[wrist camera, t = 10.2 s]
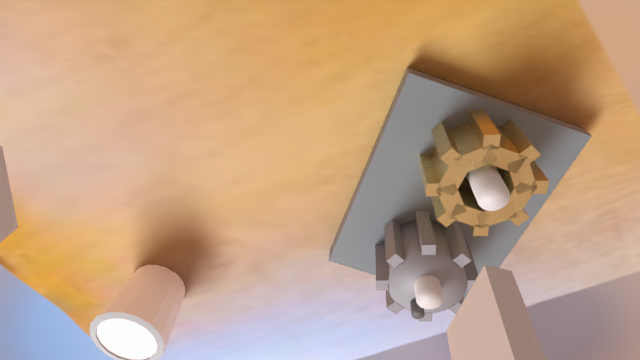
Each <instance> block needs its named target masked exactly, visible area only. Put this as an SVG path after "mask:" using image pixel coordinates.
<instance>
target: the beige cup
mask: <svg viewBox="0 0 640 360" xmlns="http://www.w3.org/2000/svg"><path fill="white" fill-rule="evenodd" d="M185 291H186V289H185V286H184V282H183V281H182V279H181V278H180V277H179V276H178V275H177V274H176V273H175V272H173V271H171V270H170V269H168V268H166V267H163V266H159V265H145V266H142V267H140V268H138V269H137V270H136V271H135V272H134V274H133V275H132V276H131V277H130V278H129V279H128V281H127V282H126V283H125V284H124V285H123V286H122V288H121V289H120V290H119V291H118V292H117V293H116V295H115V296H114V297H113V298H112V299H111V300H110V301H109V303H108V304H107V305H106V306H105V307H104V308H103V310H102V311H101V312H100V313H99V314H98V315H97V317H96V318H95V319H94V320H93V321H92V322H91V324H90V336H91V338H92V340H93V342H94V344H95V345H96V346H97V347H98V348H99V349H100V350H101V351H102V352H104V353H105V354H106V355H108V356H110V357H112V358H114V359H115V360H158V359H159V358H160V357H161V356H162V355H163V353H164V350H165V348H166V345H167V342H168V339H169V337H170V334H171V331H172V329H173V326H174V323H175V320H176V318H177V315H178V312H179V310H180V307H181V304H182V301H183V299H184V295H185Z"/></svg>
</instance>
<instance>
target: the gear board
mask: <svg viewBox="0 0 640 360" xmlns="http://www.w3.org/2000/svg"><path fill="white" fill-rule="evenodd" d="M480 109H484V110H485V112H486V113H487V115H488V116H489V118H490V119H491V121H492V122H493V124H494V125H497V126H500V127H501V126H502V125H503V124H504V123H506V122H507V121H508V120H509V119H511V120H512V121H513V122H514V123H515V124H516V125H517V126H519V128H520V129H521V130H522V131H523V133H524V134H525V135H526V136H527V138H528V139H529V140H530V141H531V143H532V144H533V145H534V146H535V148H536V149H537V150H538V151H539V153H540V154H541V155H540V156H539V157H538V158H536V159H535V160H534V161H535V162H536V164H537V165H538V166H539V168H540V169H541V170H542V172H543V173H544V174H545V176H546V177H547V178H548V180H549V184H548V189H547V194H533V195H532V196H531V198H530V199H529V201H528V202H527V204H526V205H525V206H524V209H525V211H526V212H527V214H528V216H529V219H527V220H526V221H525V222H523V223H522V224H520V225H519V226H516V225H515V224H514V223H513V222H512V221H511V220H510V219H509V220H506V221H503V222H500V223H497V224H494V225H491V226H489V231H488V236H473V234H472V231H471V229H470V226H469V224H466V223H463V222H460V221H457V220H455V221H454V222H453V223H451V224H450V225H449V226H448V227H445V226H444V225H443V224H442V223H440V222H439V221H438V220H437V219H436V215H435V211H434V207H433V203H432V199H431V196H426V194H425V190H424V185H423V181H422V177H421V172H420V168H419V154H431V153H432V151H433V149H434V147H435V145H436V144H435V141H434V138H433V135H432V132H431V130H433V129H434V128H435V127H436V126H437V125H438V124H439V123H440V122H442V123H444V124H445V125H446V126H447V127H448V128H449V129H450V128H453V127H455V126H458V125H460V124H463V123H465V122H468V119H469V110H480ZM590 138H591V135H590V134H589V133H587V132H586V131H585V130H584V129H583V128H581V127H578V126H575V125H572V124H569V123H566V122H563V121H561V120H558V119H555V118H552V117H549V116H546V115H543V114H540V113H537V112H535V111H532V110H529V109H526V108H523V107H520V106H517V105H514V104H512V103H509V102H506V101H503V100H500V99H497V98H494V97H491V96H489V95H486V94H483V93H480V92H477V91H474V90H471V89H468V88H466V87H463V86H460V85H457V84H454V83H451V82H448V81H445V80H442V79H440V78H437V77H434V76H431V75H428V74H425V73H422V72H419V71H417V70H414V69H411V68H408V67H407V69H406V72H405V74H404V76H403V79H402V81H401V83H400V86H399V88H398V90H397V93H396V95H395V98H394V100H393V102H392V105H391V107H390V109H389V112H388V114H387V116H386V119H385V121H384V124H383V126H382V128H381V131H380V133H379V135H378V138H377V140H376V142H375V145H374V147H373V150H372V152H371V154H370V157H369V159H368V161H367V164H366V166H365V168H364V171H363V173H362V176H361V178H360V180H359V183H358V185H357V187H356V190H355V192H354V194H353V197H352V199H351V202H350V204H349V206H348V209H347V211H346V213H345V216H344V218H343V220H342V223H341V225H340V228H339V230H338V232H337V235H336V237H335V239H334V242H333V244H332V246H331V249H330V254H329V261H331V262H335V263H338V264H341V265H344V266H348V267H351V268H354V269H357V270H360V271H364V272H367V273H370V274H373V275H376V290H386V301H387V308H388V309H389V310H391V311H392V312H393V313H395V314H397V313H398V312H399V311H401V310H402V309H404V308H405V309H407V310H409V311H411V314H412V317H413V318H415V319H419V321H432V313H436V312H440V311H444V310H446V309H450V310H451V311H452V312H454V313H455V314H456V313H457V312H458V310H459V308H460V306H461V305H462V303H463V301H464V299H465V298H466V296H467V294H468V292H469V291H470V289H471V287H472V285H473V284H474V282H475V280H476V278H477V277H478V275H479V273H480V271H481V270H482V268H483V266H484V265H488V266H492V267H496V268H499V267H500V265H501V264H502V262H503V261H504V260H505V258H506V257H507V255H508V254H509V252H510V251H511V250H512V248H513V247H514V245H515V244H516V243H517V241H518V240H519V238H520V237H521V235H522V234H523V233H524V231H525V230H526V228H527V227H528V226H529V224H530V223H531V221H532V220H533V218H534V217H535V216H536V214H537V213H538V211H539V210H540V209H541V207H542V206H543V204H544V203H545V201H546V200H547V199H548V197H549V196H550V194H551V193H552V192H553V190H554V189H555V187H556V186H557V184H558V183H559V182H560V180H561V179H562V177H563V176H564V174H565V173H566V172H567V170H568V169H569V167H570V166H571V165H572V163H573V162H574V160H575V159H576V157H577V156H578V155H579V153H580V152H581V150H582V149H583V148H584V146H585V145H586V143H587V142H588V140H589V139H590ZM464 178H466V179H468V181H469V183H470V186H471V188H472V190H473V193H474V195H475V198H476V200H477V202H478V205H479V206H480V207H481V208H482V209H484V210H487V211H495V210H499V209H501V208H503V207H504V206H505V205H506V204H507V203H508V202H509V199H510V192H509V190H508V188H507V187H506V185H505V183H504V181H503V179H502V178H501V176H500V174H499V172H498V170H497V169H496V167H495V166H493V165H490V164H488V165H486V166H483V167H480V168H477V169H475V170H472V171H469V172H467V174H466V176H465V177H464Z"/></svg>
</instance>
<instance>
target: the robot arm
mask: <svg viewBox="0 0 640 360" xmlns="http://www.w3.org/2000/svg"><path fill="white" fill-rule="evenodd" d="M17 228H18V225H17V220H16V215H15V209H14V204H13V199H12V194H11V189H10V184H9V179H8V174H7V169H6V164H5V159H4V154H3V149H2V147H1V146H0V243H1V242H2V241H3V240H4V239H5V238H6V237H8V236H9V235H10V234H11V233H12V232H13V231H15V230H16V229H17ZM447 336H448V342H449V347H450V353H451V358H452V360H546V358H545V355H544V353H543V350H542V348H541V345H540V342H539V340H538V337H537V335H536V332H535V330H534V327H533V324H532V322H531V319H530V317H529V314H528V312H527V309H526V306H525V304H524V301H523V299H522V296H521V294H520V291H519V289H518V286H517V283H516V281H515V278H514V276H513V273H512V271H508V270H504V269H500V268H496V267H492V266H488V265H484V266H483V268H482V270H481V271H480V273H479V275H478V277H477V278H476V280H475V282H474V284H473V285H472V287H471V289H470V291H469V292H468V294H467V296H466V298H465V299H464V301H463V303H462V305H461V306H460V308H459V310H458V312H457V313H456V315H455V317H454V319H453V320H452V322H451V324H450V326H449V327H448V329H447Z"/></svg>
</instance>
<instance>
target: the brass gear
mask: <svg viewBox="0 0 640 360" xmlns="http://www.w3.org/2000/svg"><path fill="white" fill-rule="evenodd" d="M431 132H432V135H433V138H434V141H435V144H436V145H435V147H434V149H433V151H432V153H431V154H419V168H420V172H421V177H422V181H423V185H424V190H425V194H426V196H431V199H432V203H433V207H434V211H435V215H436V219H437V220H438V221H439V222H440V223H442V224H443V225H444V226H445V227H448V226H449V225H450V224H451V223H453V222H454V221H455V220H457V221H460V222H463V223H466V224H469V226H470V229H471V231H472V234H473V236H488V231H489V226H491V225H494V224H497V223H500V222H503V221H506V220H509V219H510V220H511V221H512V222H513V223H514V224H515V225H516V226H519V225H520V224H522V223H523V222H525V221H526V220H527V219H529V216H528V214H527V212H526V211H525V209H524V206H525V205H526V204H527V202H528V201H529V199H530V198H531V196H532V195H533V194H547V189H548V184H549V180H548V178H547V177H546V176H545V174H544V173H543V172H542V170H541V169H540V168H539V166H538V165H537V164H536V162H535V161H534V160H535V159H536V158H538V157H539V156H540V155H541V154H540V153H539V151H538V150H537V149H536V148H535V146H534V145H533V144H532V143H531V141H530V140H529V139H528V138H527V136H526V135H525V134H524V133H523V131H522V130H521V129H520V128H519V126H517V125H516V124H515V123H514V122H513V121H512V120H511V119H509V120H508V121H507V122H506V123H504V124H503V125H502V126H501V127H500V126H497V125H494V124H493V122H492V121H491V119H490V118H489V116H488V115H487V113H486V112H485V110H484V109H480V110H469V119H468V122H465V123H463V124H460V125H458V126H455V127H453V128H450V129H449V128H448V127H447V126H446V125H445V124H444V123H442V122H440V123H439V124H438V125H437V126H436V127H435V128H434V129H433V130H431ZM488 164H490V165H493V166H495V167H496V169H497V170H498V172H499V174H500V176H501V178H502V179H503V181H504V183H505V185H506V187H507V188H508V190H509V192H510V199H509V202H508V203H507V204H506V205H505V206H504V207H503V208H501V209H499V210H495V211H487V210H484V209H482V208H481V207H480V206H479V205H478V202H477V200H476V198H475V195H474V193H473V190H472V188H471V186H470V183H469V181H468V179H466V178H464V177H465V176H466V174H467V172H469V171H472V170H475V169H477V168H480V167H483V166H486V165H488Z"/></svg>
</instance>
